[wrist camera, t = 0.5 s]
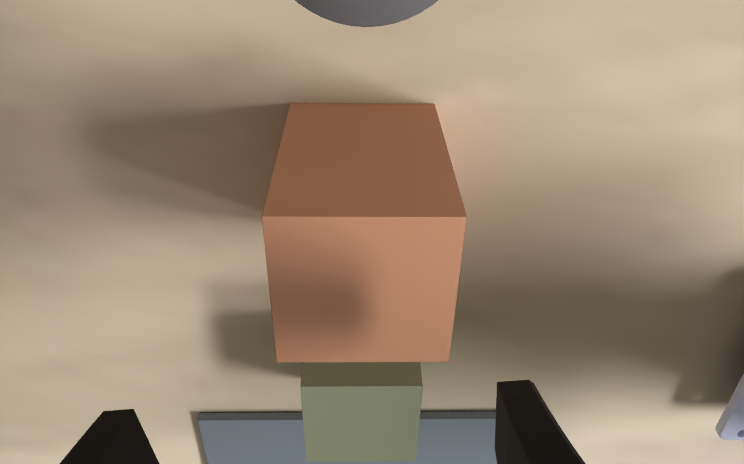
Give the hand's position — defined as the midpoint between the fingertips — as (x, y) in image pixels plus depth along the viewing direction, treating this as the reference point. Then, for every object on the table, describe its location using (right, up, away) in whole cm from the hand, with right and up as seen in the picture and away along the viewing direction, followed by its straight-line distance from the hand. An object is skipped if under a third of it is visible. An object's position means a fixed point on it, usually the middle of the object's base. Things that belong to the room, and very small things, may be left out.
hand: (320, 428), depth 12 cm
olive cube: (+1, -1, +12) cm, 12 cm away
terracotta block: (+1, +6, +7) cm, 10 cm away
